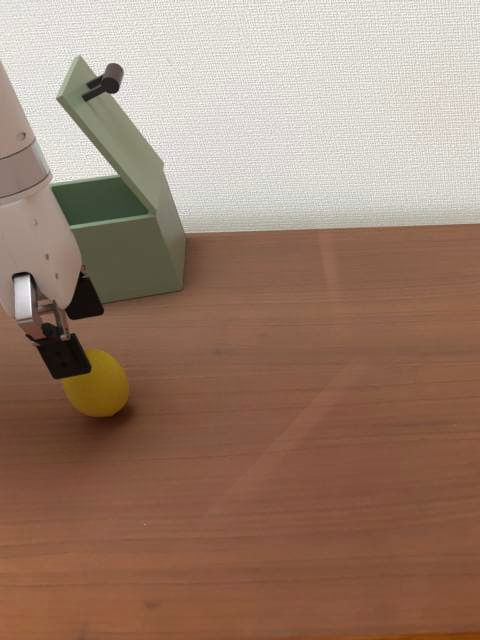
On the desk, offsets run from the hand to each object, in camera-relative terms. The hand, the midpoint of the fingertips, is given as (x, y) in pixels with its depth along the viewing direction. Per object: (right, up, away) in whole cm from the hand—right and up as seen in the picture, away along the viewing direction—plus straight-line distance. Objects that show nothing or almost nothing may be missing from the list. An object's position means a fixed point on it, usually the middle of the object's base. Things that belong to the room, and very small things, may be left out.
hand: (81, 344), depth 76 cm
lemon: (0, -7, +6) cm, 9 cm away
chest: (-9, +11, +27) cm, 31 cm away
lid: (-6, +25, +17) cm, 31 cm away
